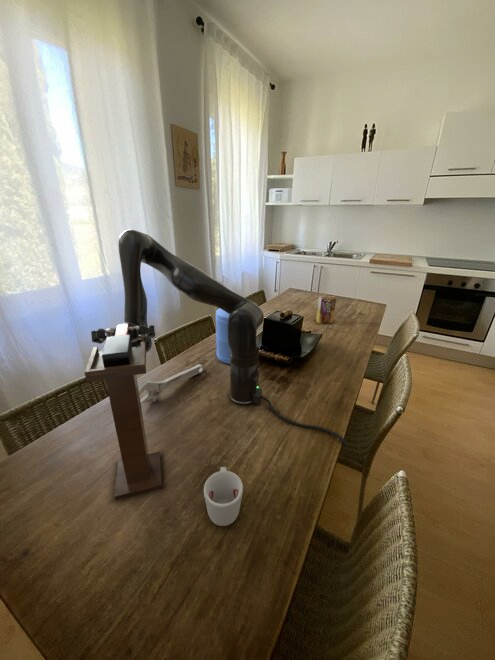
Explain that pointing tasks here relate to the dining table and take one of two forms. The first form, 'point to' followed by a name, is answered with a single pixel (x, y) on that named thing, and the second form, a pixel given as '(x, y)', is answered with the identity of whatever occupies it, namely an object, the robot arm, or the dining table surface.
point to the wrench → (166, 383)
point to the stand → (128, 422)
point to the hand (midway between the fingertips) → (121, 331)
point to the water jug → (222, 336)
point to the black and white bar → (117, 348)
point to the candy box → (326, 309)
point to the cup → (223, 496)
